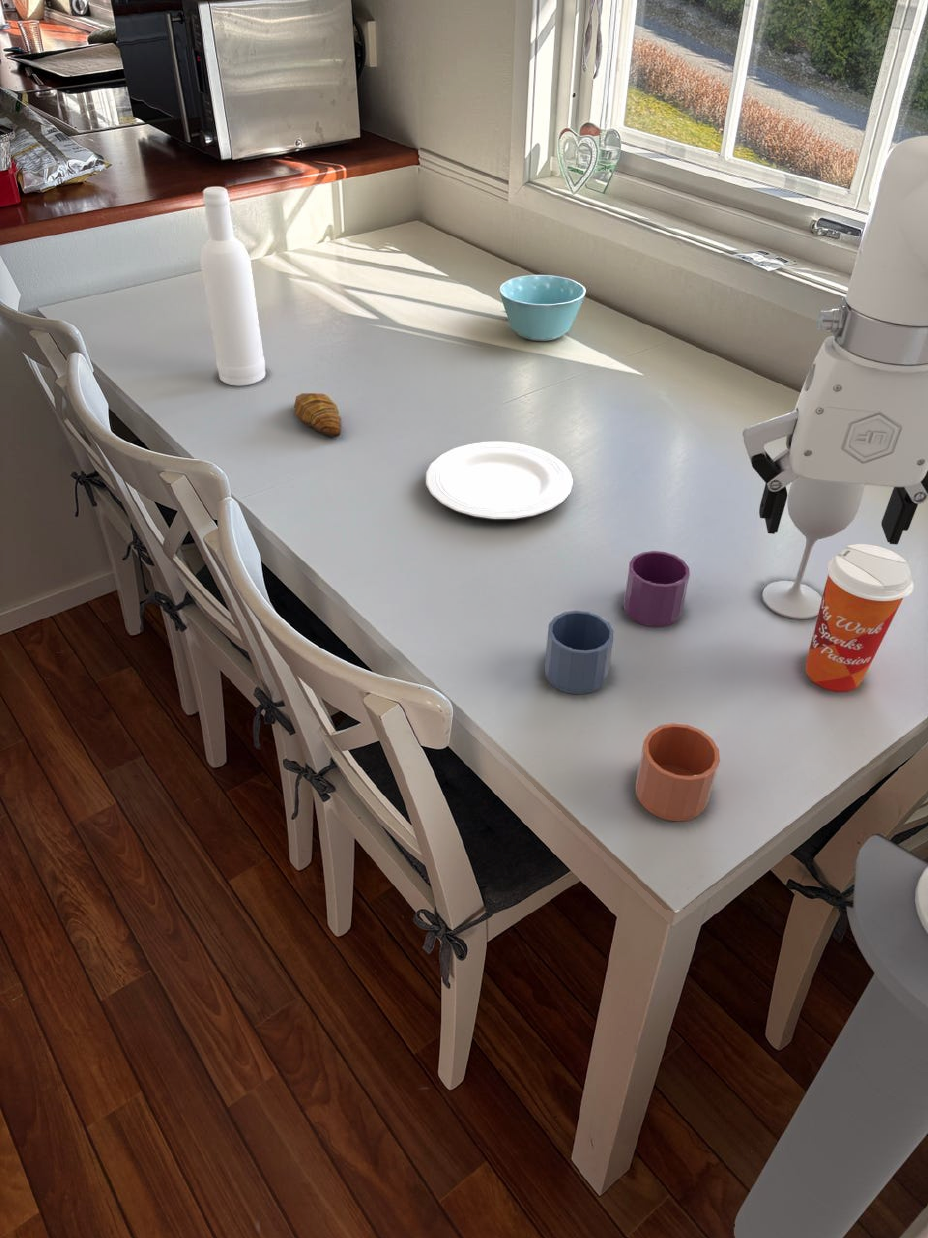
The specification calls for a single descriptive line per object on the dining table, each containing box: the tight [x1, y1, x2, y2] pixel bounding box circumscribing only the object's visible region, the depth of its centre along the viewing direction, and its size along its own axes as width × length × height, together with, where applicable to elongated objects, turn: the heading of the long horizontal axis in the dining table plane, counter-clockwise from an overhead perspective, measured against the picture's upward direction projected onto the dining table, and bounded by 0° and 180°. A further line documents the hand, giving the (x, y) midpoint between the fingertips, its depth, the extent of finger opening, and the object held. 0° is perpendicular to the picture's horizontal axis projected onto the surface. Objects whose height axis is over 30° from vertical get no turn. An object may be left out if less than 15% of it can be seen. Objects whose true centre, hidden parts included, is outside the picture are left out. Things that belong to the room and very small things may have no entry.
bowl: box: [498, 274, 587, 342], centre depth 171 cm, size 16×16×8 cm
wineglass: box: [761, 477, 866, 620], centre depth 105 cm, size 8×8×21 cm
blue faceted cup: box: [544, 610, 615, 695], centre depth 100 cm, size 7×7×6 cm
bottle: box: [199, 186, 266, 387], centre depth 148 cm, size 8×8×30 cm
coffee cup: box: [805, 543, 915, 693], centre depth 97 cm, size 8×8×15 cm
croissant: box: [293, 392, 342, 438], centre depth 144 cm, size 14×7×5 cm, turn 32°
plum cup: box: [622, 550, 691, 628], centre depth 109 cm, size 7×7×6 cm
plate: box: [425, 441, 574, 521], centre depth 130 cm, size 21×21×2 cm
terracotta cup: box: [634, 722, 721, 822], centre depth 87 cm, size 7×7×6 cm
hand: (829, 529), depth 77 cm, fingers open, 9 cm apart
